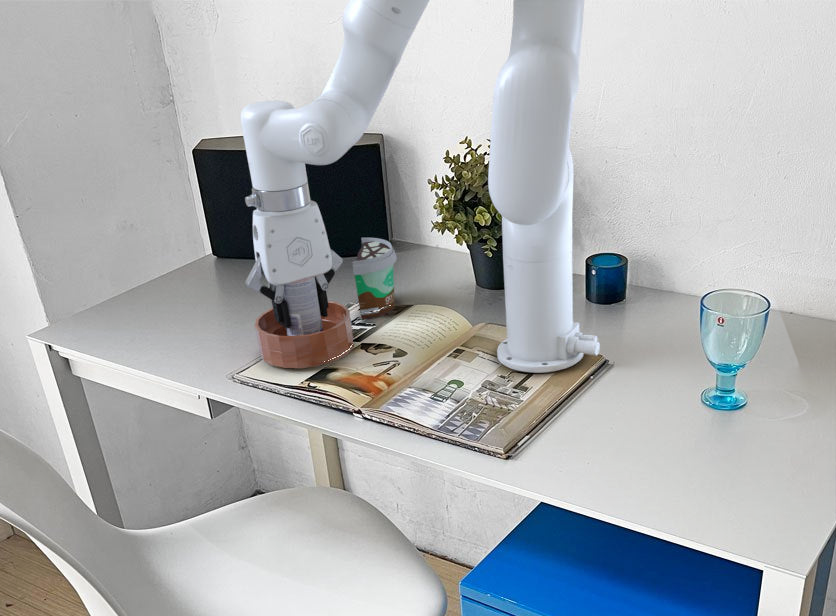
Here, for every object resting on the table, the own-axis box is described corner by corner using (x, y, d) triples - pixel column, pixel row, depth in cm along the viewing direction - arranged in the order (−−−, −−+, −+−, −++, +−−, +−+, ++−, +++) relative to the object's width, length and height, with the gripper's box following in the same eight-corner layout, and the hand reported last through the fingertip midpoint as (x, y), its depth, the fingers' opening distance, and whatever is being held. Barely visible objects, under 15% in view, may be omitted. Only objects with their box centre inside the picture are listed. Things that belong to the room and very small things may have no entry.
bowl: (365, 333, 154) (361, 300, 151) (338, 373, 142) (332, 338, 139) (281, 332, 156) (275, 299, 153) (247, 370, 145) (240, 335, 142)
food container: (398, 320, 157) (391, 260, 152) (360, 322, 157) (351, 262, 152) (405, 292, 167) (398, 234, 162) (369, 294, 168) (361, 236, 162)
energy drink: (311, 326, 151) (299, 250, 144) (330, 335, 147) (318, 258, 141) (281, 336, 148) (267, 259, 142) (299, 346, 145) (285, 268, 138)
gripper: (235, 216, 130) (260, 343, 140) (349, 190, 138) (365, 312, 147) (214, 205, 135) (239, 327, 145) (325, 179, 143) (342, 298, 153)
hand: (303, 318), depth 146 cm, fingers closed on energy drink, 5 cm apart
